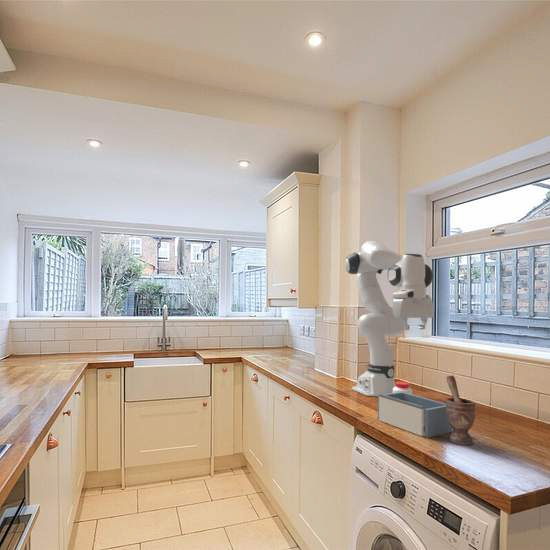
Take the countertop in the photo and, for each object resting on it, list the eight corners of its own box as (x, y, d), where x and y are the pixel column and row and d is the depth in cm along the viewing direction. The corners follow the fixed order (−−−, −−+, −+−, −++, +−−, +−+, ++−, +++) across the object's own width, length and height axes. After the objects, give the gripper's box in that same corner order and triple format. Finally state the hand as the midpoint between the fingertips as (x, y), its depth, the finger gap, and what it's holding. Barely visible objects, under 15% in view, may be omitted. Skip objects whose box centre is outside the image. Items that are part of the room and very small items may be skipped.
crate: (377, 419, 150) (377, 395, 150) (401, 414, 157) (401, 391, 157) (427, 437, 131) (427, 410, 131) (452, 431, 137) (452, 405, 138)
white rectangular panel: (378, 420, 148) (379, 394, 149) (380, 419, 148) (381, 394, 149) (421, 436, 132) (421, 406, 132) (423, 435, 132) (423, 406, 133)
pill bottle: (413, 409, 165) (413, 382, 166) (409, 413, 158) (409, 385, 159) (395, 406, 169) (395, 380, 170) (390, 410, 162) (390, 383, 163)
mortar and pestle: (433, 435, 133) (433, 375, 134) (452, 432, 136) (452, 374, 138) (460, 447, 122) (460, 382, 124) (481, 444, 126) (480, 381, 127)
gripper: (424, 295, 163) (424, 328, 161) (389, 293, 152) (390, 329, 151) (437, 294, 157) (438, 329, 156) (402, 293, 147) (403, 330, 145)
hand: (414, 329), depth 153 cm, fingers open, 8 cm apart
